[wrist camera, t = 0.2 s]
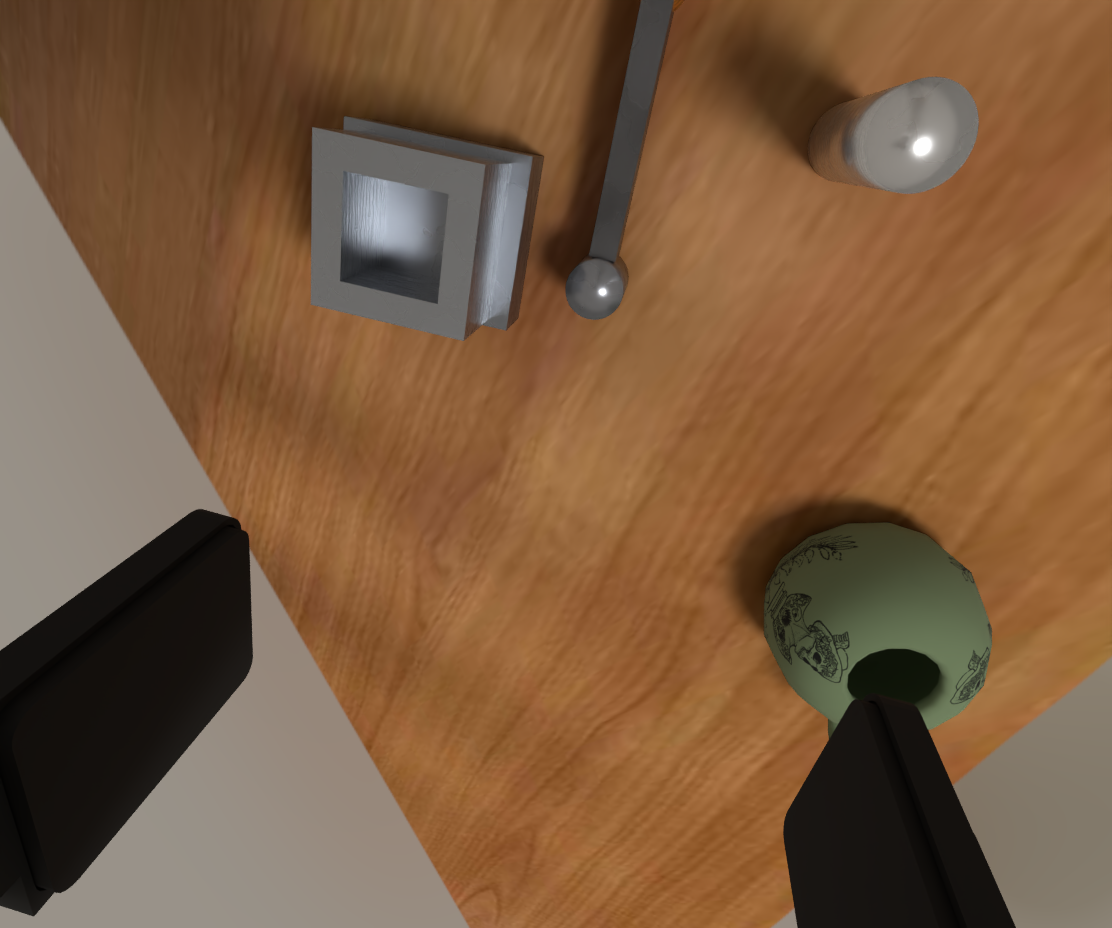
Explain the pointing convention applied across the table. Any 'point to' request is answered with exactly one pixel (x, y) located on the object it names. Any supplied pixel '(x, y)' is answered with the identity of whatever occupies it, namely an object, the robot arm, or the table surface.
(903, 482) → the table surface
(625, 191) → the lever
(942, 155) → the rod
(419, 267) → the block
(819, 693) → the mug
